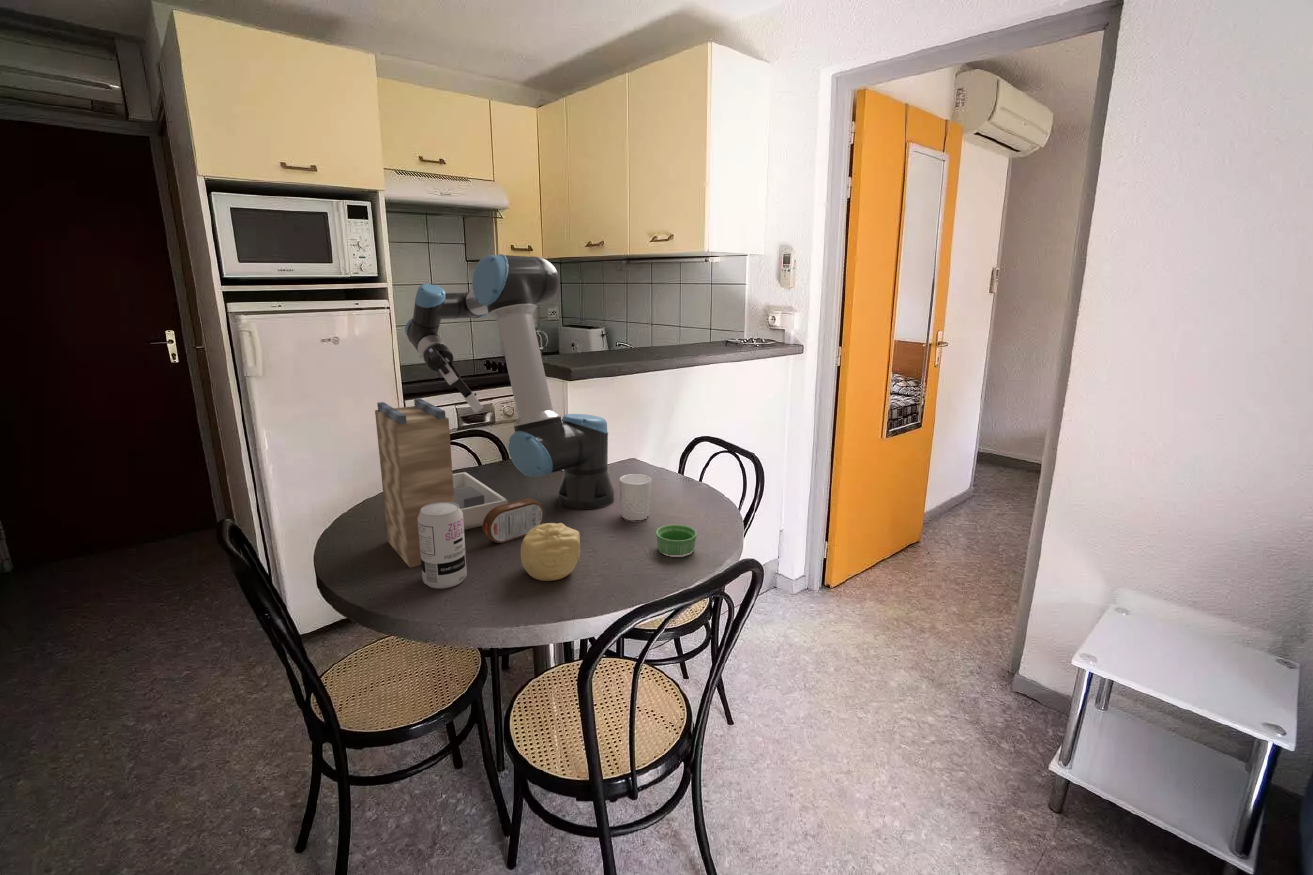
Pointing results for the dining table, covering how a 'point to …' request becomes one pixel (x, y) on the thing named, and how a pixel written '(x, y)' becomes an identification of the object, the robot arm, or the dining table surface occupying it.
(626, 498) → the white cup
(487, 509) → the bin
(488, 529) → the tin
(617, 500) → the dining table surface
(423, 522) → the supplement can
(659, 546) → the ramekin
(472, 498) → the dark grey rectangular block
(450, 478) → the stand
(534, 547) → the sculpture
